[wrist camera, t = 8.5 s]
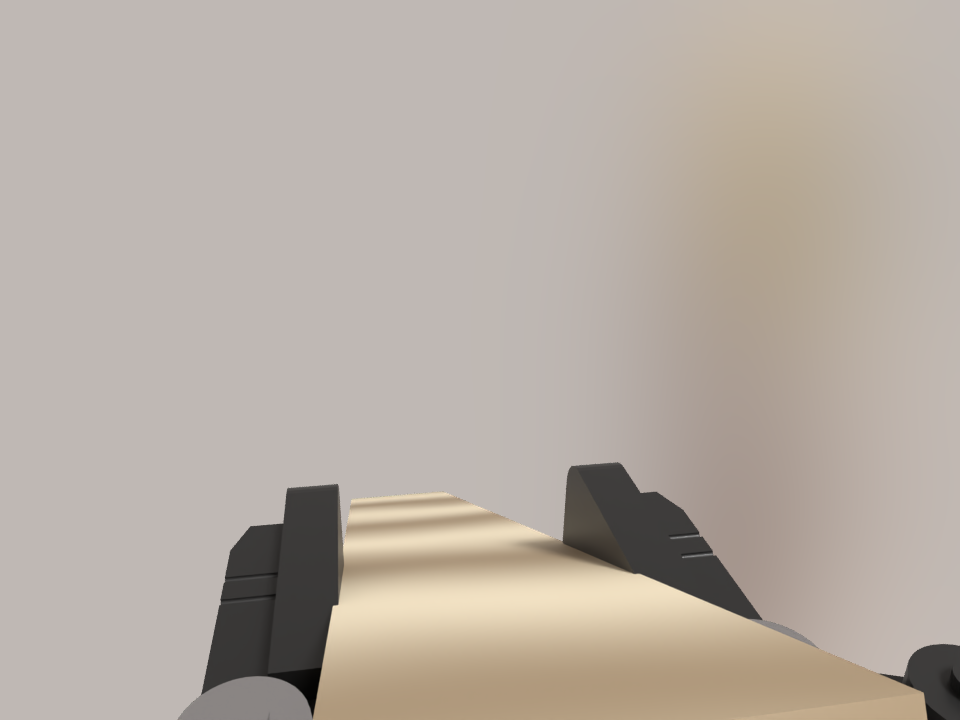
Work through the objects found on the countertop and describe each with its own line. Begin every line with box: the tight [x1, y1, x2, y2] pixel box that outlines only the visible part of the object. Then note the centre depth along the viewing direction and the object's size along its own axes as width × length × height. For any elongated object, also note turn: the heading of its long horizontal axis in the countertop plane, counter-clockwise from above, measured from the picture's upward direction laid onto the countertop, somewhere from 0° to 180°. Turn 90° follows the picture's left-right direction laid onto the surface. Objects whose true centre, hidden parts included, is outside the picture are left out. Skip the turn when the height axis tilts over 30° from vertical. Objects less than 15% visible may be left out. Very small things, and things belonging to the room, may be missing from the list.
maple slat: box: [313, 492, 927, 720], centre depth 17 cm, size 26×4×2 cm, turn 9°
